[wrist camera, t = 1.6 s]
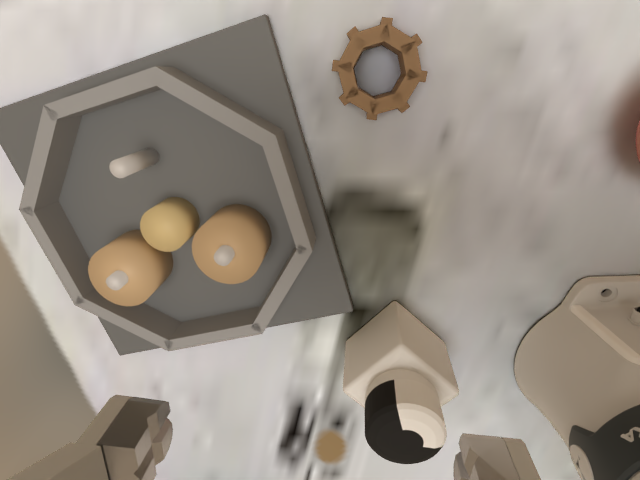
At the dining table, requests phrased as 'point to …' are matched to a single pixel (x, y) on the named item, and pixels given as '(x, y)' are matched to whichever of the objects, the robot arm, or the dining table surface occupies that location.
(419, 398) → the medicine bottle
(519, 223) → the dining table surface
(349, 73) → the planet gear
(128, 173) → the grey octagonal tray
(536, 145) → the dining table surface
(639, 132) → the decorative fruit
